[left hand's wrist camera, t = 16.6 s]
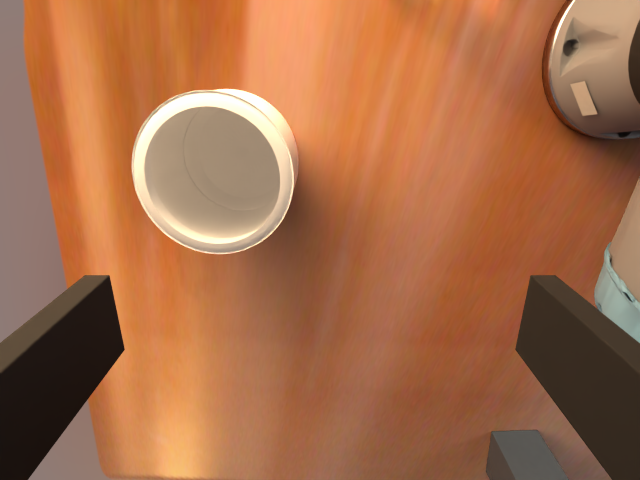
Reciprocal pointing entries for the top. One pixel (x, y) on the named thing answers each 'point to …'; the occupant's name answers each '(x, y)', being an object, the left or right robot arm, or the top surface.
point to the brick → (521, 457)
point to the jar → (215, 169)
